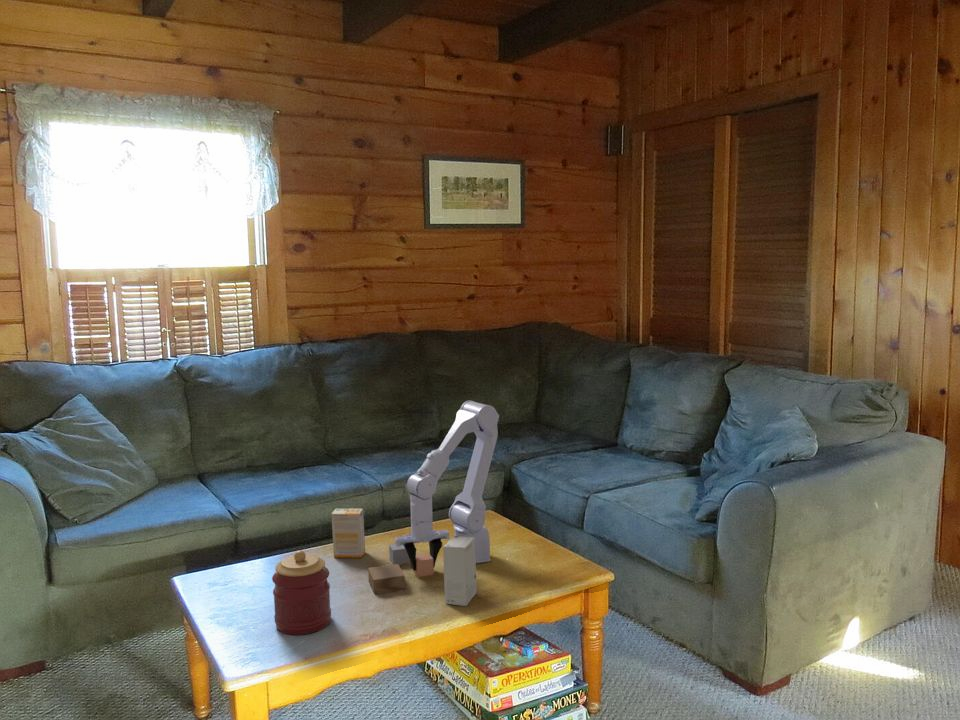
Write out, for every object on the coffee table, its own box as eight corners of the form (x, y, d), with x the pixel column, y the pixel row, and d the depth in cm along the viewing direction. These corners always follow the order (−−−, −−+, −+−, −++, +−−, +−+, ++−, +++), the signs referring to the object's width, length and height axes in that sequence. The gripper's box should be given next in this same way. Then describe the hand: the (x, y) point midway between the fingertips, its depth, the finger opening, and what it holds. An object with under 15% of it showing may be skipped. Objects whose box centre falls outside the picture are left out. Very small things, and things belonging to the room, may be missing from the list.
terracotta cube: (429, 568, 219) (428, 552, 219) (433, 574, 215) (433, 558, 215) (412, 571, 218) (412, 555, 217) (417, 577, 214) (416, 561, 213)
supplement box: (365, 552, 232) (364, 508, 230) (361, 558, 227) (360, 513, 225) (337, 551, 233) (335, 507, 231) (333, 557, 228) (331, 513, 226)
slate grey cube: (405, 557, 227) (404, 542, 227) (409, 563, 223) (408, 547, 223) (389, 560, 226) (389, 544, 225) (393, 566, 222) (393, 550, 221)
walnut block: (398, 578, 214) (398, 563, 214) (405, 590, 207) (404, 575, 206) (368, 582, 212) (368, 567, 211) (373, 594, 204) (373, 579, 204)
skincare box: (466, 607, 196) (465, 548, 194) (443, 604, 198) (442, 546, 196) (477, 592, 204) (476, 536, 202) (454, 590, 206) (453, 534, 203)
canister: (265, 621, 190) (261, 549, 188) (316, 605, 198) (312, 536, 196) (289, 642, 180) (285, 566, 178) (341, 624, 188) (338, 552, 186)
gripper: (398, 527, 208) (400, 577, 210) (452, 520, 213) (453, 569, 215) (392, 518, 215) (393, 567, 217) (444, 511, 220) (445, 559, 222)
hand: (423, 567), depth 216 cm, fingers closed on terracotta cube, 4 cm apart
